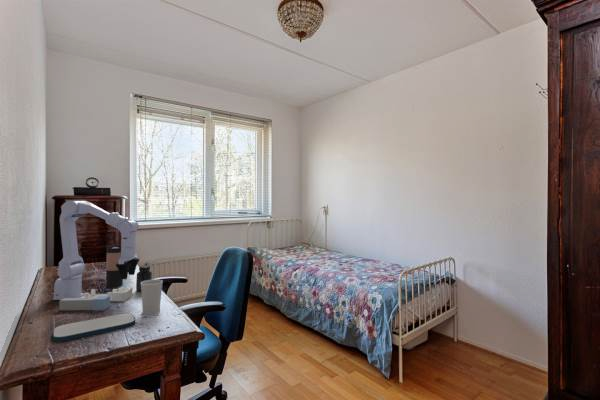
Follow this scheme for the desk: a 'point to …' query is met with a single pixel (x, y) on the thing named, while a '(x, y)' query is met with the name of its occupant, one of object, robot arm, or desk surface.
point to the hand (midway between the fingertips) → (127, 276)
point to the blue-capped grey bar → (85, 303)
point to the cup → (151, 296)
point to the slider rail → (112, 294)
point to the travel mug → (113, 267)
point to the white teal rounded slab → (92, 327)
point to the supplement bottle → (143, 276)
